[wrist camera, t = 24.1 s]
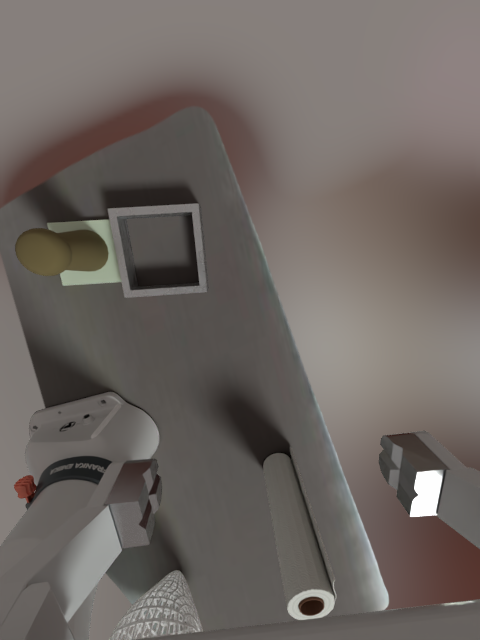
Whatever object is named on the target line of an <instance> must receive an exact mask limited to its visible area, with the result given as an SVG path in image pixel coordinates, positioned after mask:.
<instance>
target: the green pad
mask: <svg viewBox="0 0 480 640" xmlns="http://www.w3.org/2000/svg"><path fill="white" fill-rule="evenodd" d="M47 226H48V229H49V230H51V231H54V232H56V233H62V232H68V231H75V230H90V231H93V232H95V233H97V234H98V235H100V236H101V238H102V239H103V240H104V241H105V243H106V245H107V247H108V252H109V254H108V260H107V262H106V264H105V265H104V266H103V267H102V268H101V269H99V270H97V271H90V272H87V271H71V270H65V271H64V272H62V273H60V276H61V279H62V283H63V286H67V285H82V284H97V283H112V282H122V281H121V276H120V271H119V266H118V261H117V255H116V250H115V245H114V240H113V235H112V229H111V224H110V219H108V220H90V221H73V222H56V223H47Z"/></svg>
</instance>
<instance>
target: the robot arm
mask: <svg viewBox="0 0 480 640" xmlns="http://www.w3.org/2000/svg"><path fill="white" fill-rule="evenodd" d="M103 400H105V401H106V402H104V401H103ZM29 434H30V440H29V442H28V444H27V446H26V451H25V459H26V464H27V468H28V471H29V474H30V475H28V476H25V477H23V478H22V479H19V481H17V482H16V484H15V485H14V488H15V490H16V491H17V493H18V497H19V498H26V500H27V504H26V508H27V511H26V512H25V514H24V515H23V516H22V518H21V519H20V520H19V522H18V523H17V524H16V526H15V527H14V528H13V530H12V531H11V532H10V534H9V535H8V536H7V538H6V539H5V540H4V542H3V543H2V544H1V546H0V640H89V631H90V621H91V613H92V608H93V602H94V597H95V593H96V589H97V585H98V582H99V580H100V579H101V578H102V576H103V575H104V573H105V572H106V571H107V570H108V568H109V567H110V566H111V564H112V563H113V562H114V560H115V559H116V558H117V556H118V555H119V554H120V552H121V551H122V548H129V547H136V546H143V545H149V544H150V541H151V537H152V533H153V529H154V525H155V518H154V513H155V512H156V511H157V510H158V509H159V506H160V502H161V496H162V481H161V477H160V476H159V475H158V474H157V470H158V463H157V460H156V459H150V458H151V456H152V455H153V454H154V453H155V451H156V449H157V447H158V444H159V432H158V429H157V426H156V424H155V423H154V421H153V420H152V419H151V417H150V416H149V415H148V414H146V413H145V412H144V411H142V410H141V409H139V408H137V407H135V406H132V405H130V404H128V403H126V402H125V401H124V400H123V399H122V398H121V397H120V396H119V395H117V394H116V393H114V392H107V393H103V394H99V395H95V396H91V397H88V398H84V399H80V400H76V401H72V402H68V403H65V404H61V405H57V406H53V407H49V408H46V409H42V410H39V411H36V412H35V413H34V414H33V416H32V418H31V420H30V425H29ZM380 445H381V446H382V447H383V449H384V450H383V451H382V452H381V453H380V454H379V465H380V469H381V471H382V474H383V476H384V478H385V479H386V481H387V483H388V484H389V485H390V486H392V487H394V488H395V489H397V498H398V499H399V501H400V502H401V504H402V505H403V507H404V508H405V510H406V511H407V512H408V514H409V515H410V517H412V516H425V515H437V516H438V517H439V518H440V519H441V520H443V521H444V522H446V523H447V524H448V525H449V526H451V527H452V528H453V529H454V530H456V531H457V532H458V533H460V534H461V535H462V536H464V537H465V538H466V539H468V540H469V541H470V542H472V543H473V544H474V545H475V546H477V547H478V548H479V549H480V471H478V470H475V469H473V468H466V467H465V466H464V465H463V464H462V463H461V462H460V461H459V460H458V459H457V458H456V457H454V455H453V454H451V453H450V452H449V451H448V450H447V449H446V448H445V447H444V446H443V445H442V444H441V443H440V442H438V441H437V440H436V439H435V438H434V437H433V436H432V435H431V434H430V433H428V432H426V431H419V432H411V433H402V434H393V435H384V436H383V437H382V438H381V444H380ZM35 490H36V491H35ZM34 491H35V493H34ZM134 640H480V600H471V601H462V602H453V603H445V604H436V605H428V606H419V607H410V608H402V609H393V610H384V611H375V612H367V613H358V614H349V615H340V616H332V617H323V618H314V619H306V620H297V621H288V622H280V623H271V624H263V625H254V626H245V627H237V628H228V629H220V630H211V631H203V632H194V633H186V634H177V635H168V636H160V637H151V638H142V639H134Z"/></svg>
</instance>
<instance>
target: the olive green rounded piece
mask: <svg viewBox="0 0 480 640" xmlns="http://www.w3.org/2000/svg"><path fill="white" fill-rule="evenodd" d="M15 251H16V255H17V258H18V259H19V261H20V263H21V264H22V265H23V266H24V267H25V268H27V269H28V270H29V271H31V272H33V273H35V274H39V275H43V276H54V275H57V274H60V273H62V272H64V271H65V270H71V271H87V272H90V271H97V270H99V269H101V268H102V267H103V266H104V265H105V264H106V262H107V260H108V254H109V252H108V247H107V245H106V243H105V241H104V240H103V239H102V238H101V236H100V235H98V234H97V233H95V232H93V231H90V230H75V231H68V232H62V233H56V232H54V231H51V230H48V229H43V228H36V229H30V230H28V231H25V232H23V233H22V234H21V235H20V236H19V238H18V240H17V242H16V245H15Z"/></svg>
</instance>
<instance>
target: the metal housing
mask: <svg viewBox="0 0 480 640" xmlns="http://www.w3.org/2000/svg"><path fill="white" fill-rule="evenodd" d="M108 214H109V219H110V224H111V229H112V235H113V240H114V245H115V250H116V255H117V261H118V266H119V271H120V276H121V281H122V286H123V292H124V297H125V298H127V297H142V296H156V295H171V294H185V293H199V292H207V291H208V289H209V287H208V276H207V266H206V255H205V245H204V234H203V224H202V214H201V207H200V205H199V203H197V204H179V205H162V206H144V207H126V208H108ZM185 215H192V218H193V227H194V237H195V246H196V256H197V265H198V275H199V283H185V284H171V285H156V286H141V287H138V282H137V276H136V271H135V265H134V259H133V253H132V248H131V242H130V236H129V231H128V225H127V219H134V218H151V217H168V216H185Z"/></svg>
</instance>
